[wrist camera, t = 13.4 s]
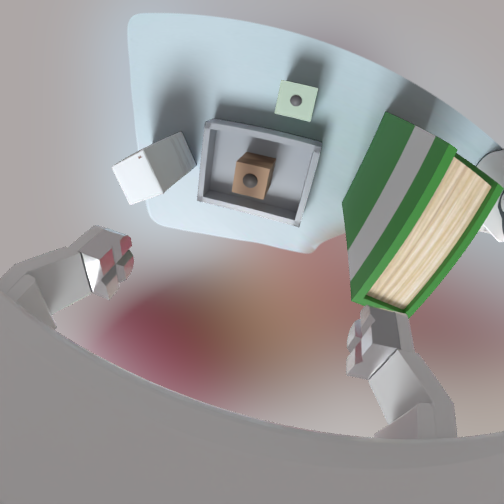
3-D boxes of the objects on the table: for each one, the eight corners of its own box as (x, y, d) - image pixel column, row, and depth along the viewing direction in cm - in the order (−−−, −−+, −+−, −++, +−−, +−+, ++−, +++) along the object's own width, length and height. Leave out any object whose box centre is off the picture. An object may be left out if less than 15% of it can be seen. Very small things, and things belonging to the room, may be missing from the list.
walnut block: (276, 158, 43) (269, 169, 38) (270, 185, 46) (263, 200, 41) (246, 151, 44) (236, 161, 39) (241, 178, 47) (231, 192, 42)
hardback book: (385, 111, 35) (449, 143, 16) (423, 133, 35) (503, 188, 16) (341, 202, 46) (351, 300, 27) (378, 219, 46) (405, 321, 26)
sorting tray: (321, 142, 41) (321, 147, 38) (301, 216, 49) (299, 227, 46) (214, 118, 42) (205, 122, 39) (205, 191, 51) (197, 200, 47)
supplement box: (151, 144, 47) (109, 165, 37) (182, 130, 45) (143, 148, 34) (166, 178, 51) (129, 206, 41) (197, 167, 48) (163, 194, 38)
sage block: (318, 88, 36) (318, 88, 31) (311, 117, 39) (310, 122, 34) (286, 80, 36) (281, 79, 32) (280, 109, 39) (274, 113, 35)
